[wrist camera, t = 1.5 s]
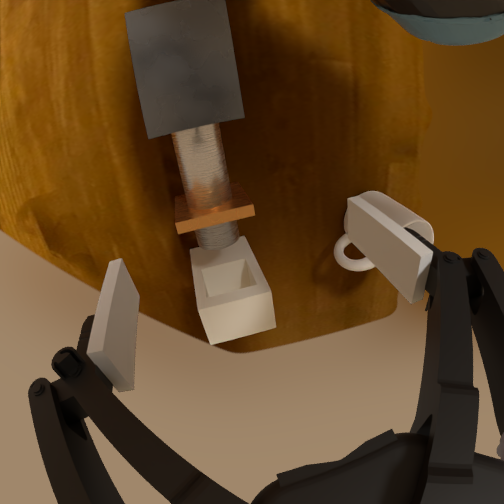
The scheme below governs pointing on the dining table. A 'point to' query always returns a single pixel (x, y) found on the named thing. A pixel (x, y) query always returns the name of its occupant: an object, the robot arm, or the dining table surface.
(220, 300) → the socket block
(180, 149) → the tube
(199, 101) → the sleeve
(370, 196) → the mug
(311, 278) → the dining table surface
